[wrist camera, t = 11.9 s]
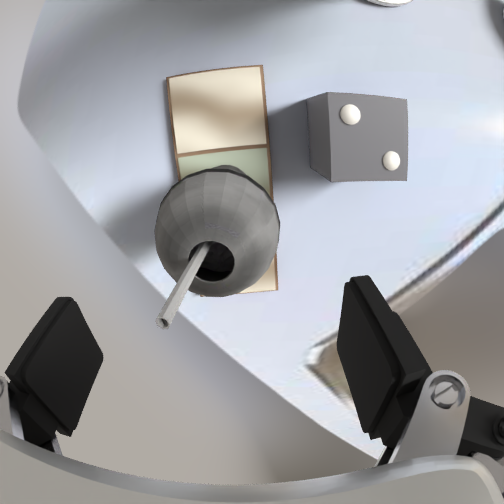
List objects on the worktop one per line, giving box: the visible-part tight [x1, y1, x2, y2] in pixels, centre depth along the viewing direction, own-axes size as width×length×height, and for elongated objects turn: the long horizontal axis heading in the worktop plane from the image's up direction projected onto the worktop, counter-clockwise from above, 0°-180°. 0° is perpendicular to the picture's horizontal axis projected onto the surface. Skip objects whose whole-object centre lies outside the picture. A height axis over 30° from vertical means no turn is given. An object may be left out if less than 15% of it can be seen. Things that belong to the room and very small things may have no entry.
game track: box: [166, 65, 278, 297], centre depth 27 cm, size 24×9×1 cm, turn 5°
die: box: [307, 92, 408, 182], centre depth 22 cm, size 7×7×7 cm
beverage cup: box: [155, 165, 280, 329], centre depth 18 cm, size 7×7×20 cm
